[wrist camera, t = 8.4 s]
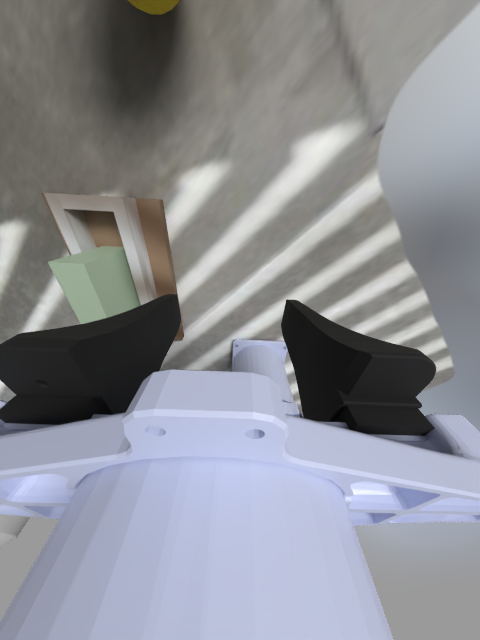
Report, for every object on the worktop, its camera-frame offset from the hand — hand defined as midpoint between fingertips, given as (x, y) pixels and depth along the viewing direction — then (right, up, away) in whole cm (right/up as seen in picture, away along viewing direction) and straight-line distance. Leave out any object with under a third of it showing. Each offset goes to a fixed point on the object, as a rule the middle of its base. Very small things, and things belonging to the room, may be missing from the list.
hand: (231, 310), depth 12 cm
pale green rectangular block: (-12, +3, +8) cm, 15 cm away
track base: (-12, +4, +9) cm, 15 cm away
